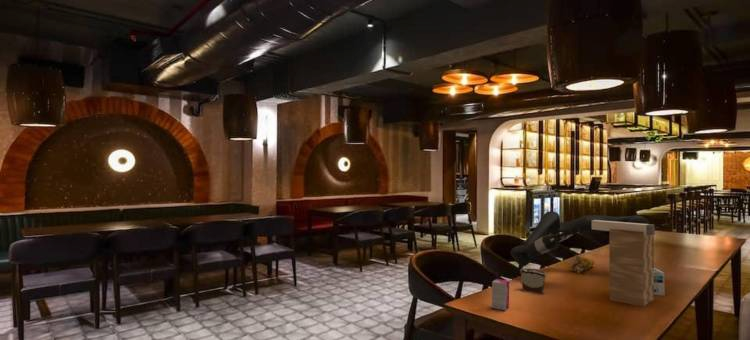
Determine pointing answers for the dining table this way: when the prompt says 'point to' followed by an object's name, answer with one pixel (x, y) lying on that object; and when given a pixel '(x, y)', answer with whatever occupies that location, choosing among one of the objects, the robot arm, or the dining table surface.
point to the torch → (581, 264)
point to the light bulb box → (659, 282)
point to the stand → (631, 267)
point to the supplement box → (500, 295)
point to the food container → (533, 280)
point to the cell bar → (623, 226)
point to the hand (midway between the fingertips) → (574, 230)
